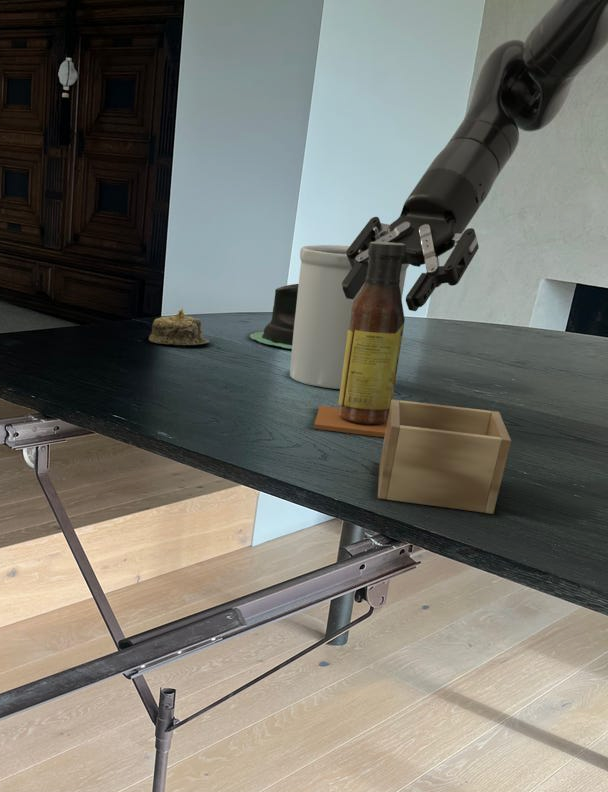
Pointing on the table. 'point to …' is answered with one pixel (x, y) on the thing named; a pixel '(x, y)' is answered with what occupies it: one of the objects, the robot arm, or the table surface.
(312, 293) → the utensil holder
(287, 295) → the chocolate cake
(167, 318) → the cake
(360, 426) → the cork mat
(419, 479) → the box
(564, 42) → the robot arm
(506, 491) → the table surface
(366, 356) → the sauce bottle
